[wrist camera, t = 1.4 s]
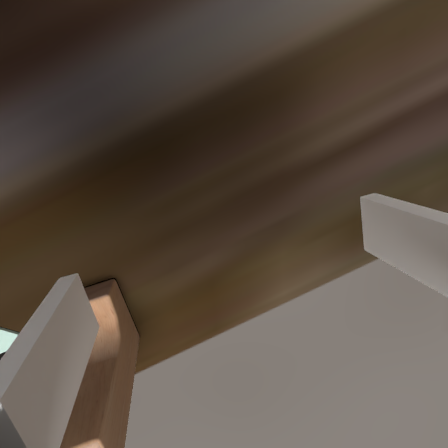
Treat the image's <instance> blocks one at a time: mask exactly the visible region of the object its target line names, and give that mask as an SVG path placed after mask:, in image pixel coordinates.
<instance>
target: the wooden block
mask: <svg viewBox="0 0 448 448" xmlns="http://www.w3.org/2000/svg"><path fill="white" fill-rule="evenodd" d="M84 290H85V292H86V295H87V297H88V299H89V302H90V304H91V307H92V309H93V312H94V314H95V317H96V319H97V322H98V324H99V330H98V333H97V336H96V339H95V342H94V345H93V348H92V351H91V354H90V357H89V360H88V364H87V367H86V370H85V373H84V376H83V379H82V382H81V385H80V388H79V391H78V394H77V397H76V400H75V403H74V406H73V409H72V412H71V415H70V418H69V421H68V424H67V427H66V430H65V433H64V436H63V439H62V442H61V446H60V448H124V447H125V440H126V432H127V425H128V417H129V411H130V403H131V396H132V389H133V382H134V374H135V367H136V360H137V353H138V346H139V338H140V336H139V334H138V332H137V329H136V327H135V325H134V322H133V320H132V317H131V315H130V313H129V310H128V308H127V306H126V303H125V301H124V299H123V296H122V294H121V292H120V289H119V287H118V285H117V282H116V281H115V279H111V280H108V281H105V282H102V283H99V284H96V285H93V286H90V287H86V288H84Z"/></svg>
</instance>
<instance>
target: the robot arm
mask: <svg viewBox="0 0 448 448" xmlns="http://www.w3.org/2000/svg"><path fill="white" fill-rule="evenodd" d="M360 201H361V214H362V227H363V240H364V250H366V251H367V252H369V253H371V254H373V255H374V256H376V257H378V258H379V259H381V260H383V261H385V262H386V263H388V264H390V265H392V266H394V267H395V268H397V269H399V270H400V271H402V272H404V273H406V274H407V275H409V276H411V277H412V278H414V279H416V280H418V281H419V282H421V283H423V284H425V285H426V286H428V287H430V288H432V289H433V290H435V291H437V292H439V293H440V294H442V295H444V296H446V297H447V298H448V213H445V212H441V211H437V210H434V209H430V208H427V207H423V206H420V205H416V204H412V203H409V202H405V201H402V200H398V199H394V198H391V197H387V196H384V195H380V194H376V193H373V194H370V195H366V196H362V197H360ZM98 330H99V324H98V322H97V319H96V317H95V314H94V312H93V309H92V307H91V304H90V302H89V299H88V297H87V295H86V292H85V290H84V287H83V285H82V282H81V280H80V277H79V275H78V273H76V274H73V275H69V276H65V277H61V278H59V279H58V281H57V282H56V283H55V285H54V286H53V288H52V289H51V290H50V292H49V293H48V294H47V296H46V297H45V299H44V300H43V301H42V303H41V304H40V306H39V307H38V308H37V310H36V311H35V312H34V314H33V315H32V317H31V318H30V319H29V321H28V322H27V324H26V325H25V326H24V328H23V329H22V331H21V332H20V333H19V335H18V336H17V337H16V339H15V340H14V342H13V343H12V344H11V346H10V347H9V349H8V350H7V351H6V352H3V353H1V354H0V448H60V446H61V442H62V439H63V436H64V433H65V430H66V427H67V424H68V421H69V418H70V415H71V412H72V409H73V406H74V403H75V400H76V397H77V394H78V391H79V388H80V385H81V382H82V379H83V376H84V373H85V370H86V367H87V364H88V360H89V357H90V354H91V351H92V348H93V345H94V342H95V339H96V336H97V333H98Z"/></svg>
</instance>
